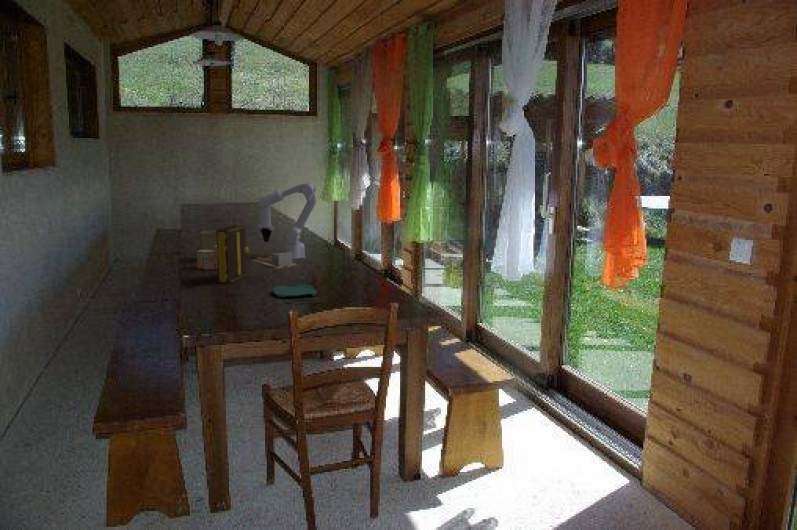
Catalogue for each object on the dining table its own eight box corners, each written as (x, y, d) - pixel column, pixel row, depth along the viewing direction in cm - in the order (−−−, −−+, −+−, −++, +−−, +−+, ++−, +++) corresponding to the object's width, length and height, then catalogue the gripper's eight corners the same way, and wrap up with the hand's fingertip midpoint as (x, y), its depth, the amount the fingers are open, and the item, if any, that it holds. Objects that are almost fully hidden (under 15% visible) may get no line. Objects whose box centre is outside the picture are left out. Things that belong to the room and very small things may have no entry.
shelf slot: (273, 258, 361) (273, 245, 360) (297, 265, 342) (297, 251, 340) (250, 261, 352) (250, 247, 351) (274, 268, 333) (273, 254, 331)
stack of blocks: (197, 269, 330) (196, 245, 328) (201, 267, 336) (199, 243, 334) (238, 269, 330) (237, 246, 328) (241, 267, 336) (240, 244, 334)
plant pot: (225, 263, 347) (224, 234, 344) (198, 262, 347) (196, 233, 344) (233, 258, 361) (232, 230, 358) (207, 257, 362) (205, 229, 359)
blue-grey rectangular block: (278, 262, 347) (277, 253, 346) (287, 264, 339) (287, 255, 338) (272, 262, 345) (272, 253, 344) (281, 265, 337) (281, 256, 336)
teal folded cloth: (312, 287, 293) (312, 282, 292) (326, 304, 265) (326, 298, 264) (269, 290, 286) (268, 285, 286) (278, 308, 259) (278, 302, 258)
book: (231, 283, 298) (229, 230, 293) (214, 282, 299) (212, 229, 295) (251, 274, 319) (250, 224, 314) (235, 273, 321) (233, 223, 316)
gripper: (253, 217, 361) (253, 240, 363) (265, 219, 350) (266, 244, 353) (264, 216, 365) (264, 239, 368) (277, 218, 355) (277, 242, 357)
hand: (266, 241), depth 361 cm, fingers closed
